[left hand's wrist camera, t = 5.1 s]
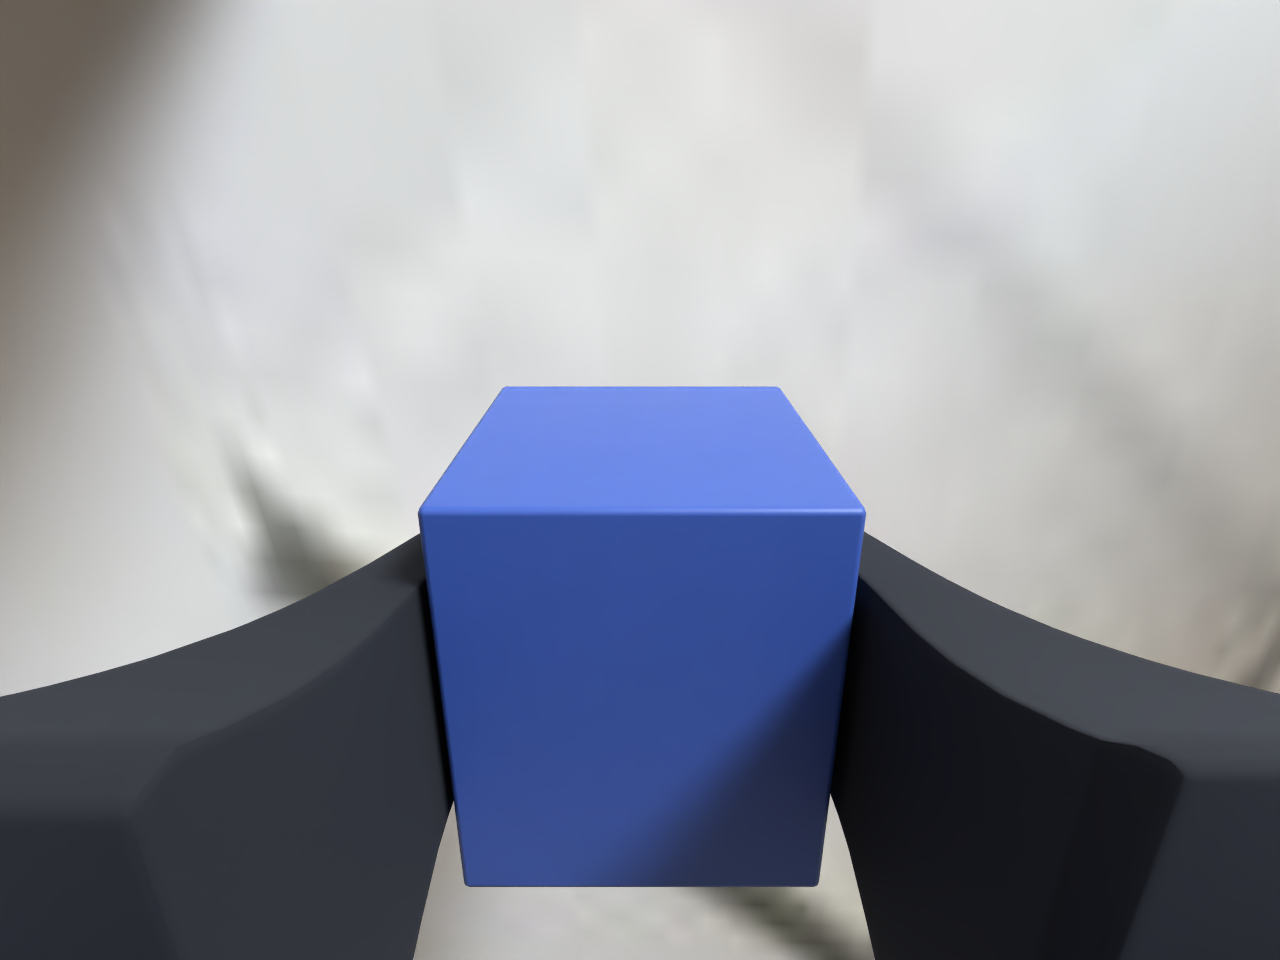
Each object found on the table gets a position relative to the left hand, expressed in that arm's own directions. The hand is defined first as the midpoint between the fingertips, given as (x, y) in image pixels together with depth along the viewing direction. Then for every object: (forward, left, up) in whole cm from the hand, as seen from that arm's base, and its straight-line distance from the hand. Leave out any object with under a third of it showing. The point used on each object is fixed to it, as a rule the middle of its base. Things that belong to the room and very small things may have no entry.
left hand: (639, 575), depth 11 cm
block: (0, 0, -2) cm, 2 cm away
